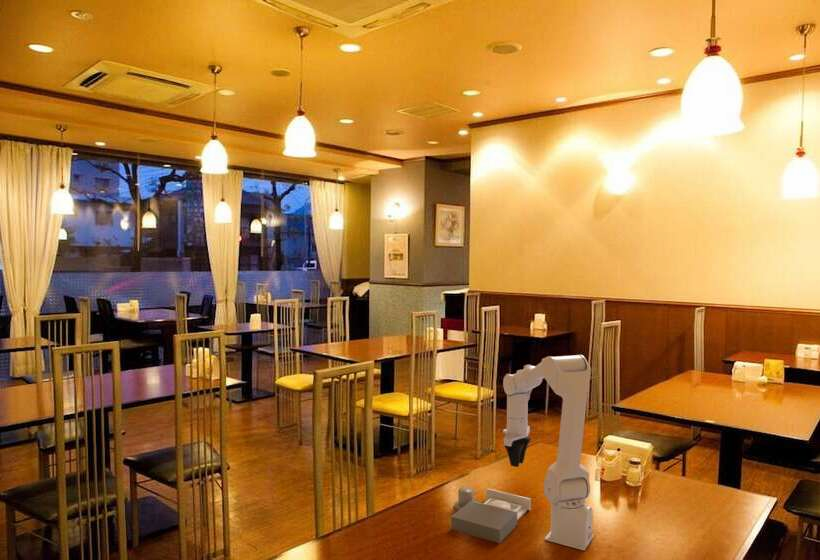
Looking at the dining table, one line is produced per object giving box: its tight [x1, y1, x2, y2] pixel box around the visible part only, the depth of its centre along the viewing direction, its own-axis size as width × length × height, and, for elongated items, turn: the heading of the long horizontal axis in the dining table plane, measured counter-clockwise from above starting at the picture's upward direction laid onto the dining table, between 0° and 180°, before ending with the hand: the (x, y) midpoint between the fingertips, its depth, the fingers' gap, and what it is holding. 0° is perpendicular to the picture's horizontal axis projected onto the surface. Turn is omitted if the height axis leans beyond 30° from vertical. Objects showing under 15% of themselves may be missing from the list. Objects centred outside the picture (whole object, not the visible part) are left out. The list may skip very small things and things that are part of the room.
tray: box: [482, 487, 532, 521], centre depth 153 cm, size 13×11×3 cm
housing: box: [450, 500, 518, 545], centre depth 144 cm, size 13×11×3 cm
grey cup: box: [454, 486, 474, 511], centre depth 156 cm, size 6×6×5 cm
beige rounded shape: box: [489, 500, 511, 510], centre depth 152 cm, size 6×6×2 cm
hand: (516, 464), depth 162 cm, fingers open, 3 cm apart
